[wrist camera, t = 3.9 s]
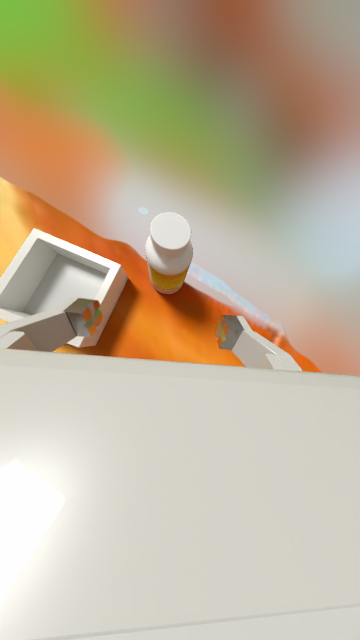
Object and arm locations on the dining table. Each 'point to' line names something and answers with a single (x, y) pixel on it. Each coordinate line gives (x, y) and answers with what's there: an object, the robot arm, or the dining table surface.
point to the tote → (58, 281)
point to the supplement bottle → (168, 252)
